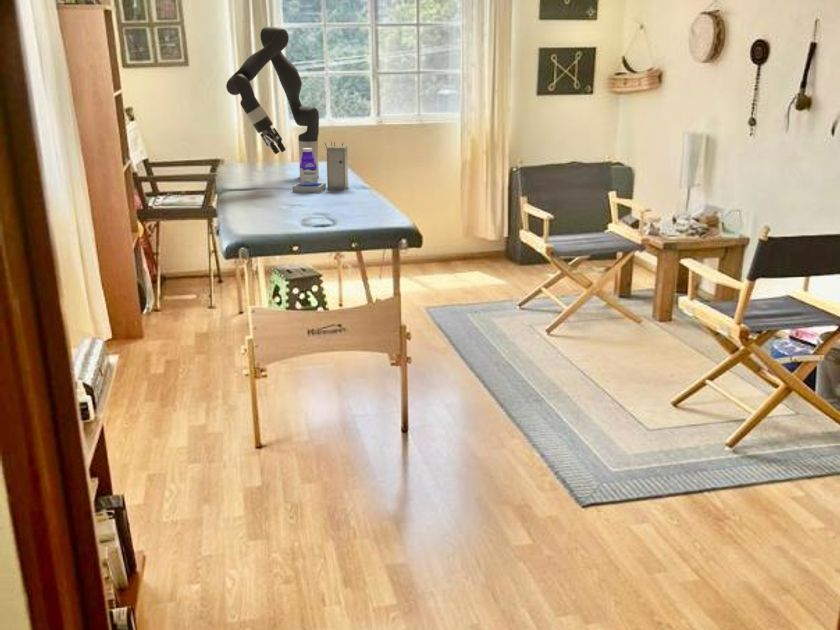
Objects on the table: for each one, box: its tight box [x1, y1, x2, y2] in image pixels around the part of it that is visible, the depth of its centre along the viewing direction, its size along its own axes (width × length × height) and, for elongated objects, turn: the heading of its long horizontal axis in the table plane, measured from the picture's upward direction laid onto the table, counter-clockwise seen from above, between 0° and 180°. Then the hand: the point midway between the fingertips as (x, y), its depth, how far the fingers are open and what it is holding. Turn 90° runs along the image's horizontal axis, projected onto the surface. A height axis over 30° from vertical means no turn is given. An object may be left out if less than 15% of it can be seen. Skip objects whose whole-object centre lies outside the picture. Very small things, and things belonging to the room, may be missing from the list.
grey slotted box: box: [326, 145, 349, 190], centre depth 355 cm, size 7×8×18 cm
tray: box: [291, 182, 327, 193], centre depth 351 cm, size 12×12×2 cm
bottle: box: [299, 148, 318, 187], centre depth 348 cm, size 7×6×17 cm
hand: (280, 152), depth 350 cm, fingers open, 8 cm apart
